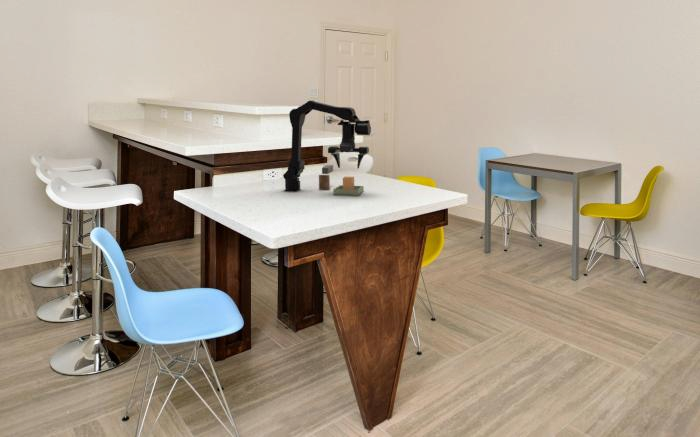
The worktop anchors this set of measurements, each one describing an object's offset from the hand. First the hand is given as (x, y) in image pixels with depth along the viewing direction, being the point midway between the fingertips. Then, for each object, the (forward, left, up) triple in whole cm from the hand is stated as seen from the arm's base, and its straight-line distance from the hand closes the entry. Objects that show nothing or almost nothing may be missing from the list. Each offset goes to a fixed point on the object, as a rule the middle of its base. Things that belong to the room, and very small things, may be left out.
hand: (348, 168), depth 251 cm
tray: (0, 0, -12) cm, 12 cm away
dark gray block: (-14, +13, -4) cm, 20 cm away
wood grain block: (-14, +7, -12) cm, 20 cm away
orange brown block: (0, 0, -11) cm, 11 cm away
